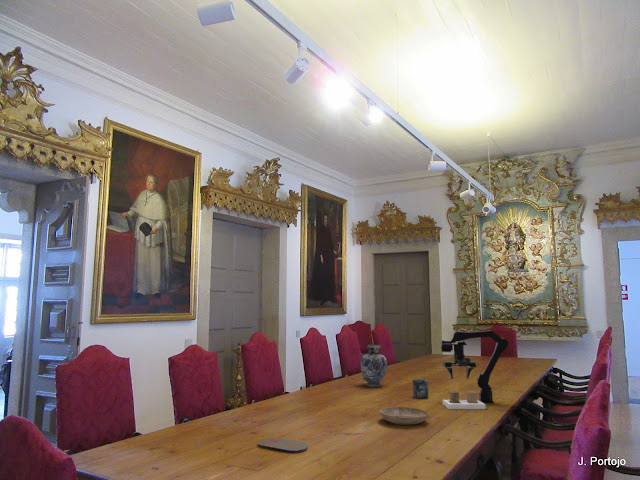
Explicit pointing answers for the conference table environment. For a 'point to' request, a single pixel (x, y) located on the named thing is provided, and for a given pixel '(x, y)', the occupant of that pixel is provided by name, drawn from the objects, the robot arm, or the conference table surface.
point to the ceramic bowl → (404, 415)
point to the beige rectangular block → (454, 397)
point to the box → (420, 388)
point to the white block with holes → (466, 402)
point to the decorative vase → (373, 366)
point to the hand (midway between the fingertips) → (459, 379)
